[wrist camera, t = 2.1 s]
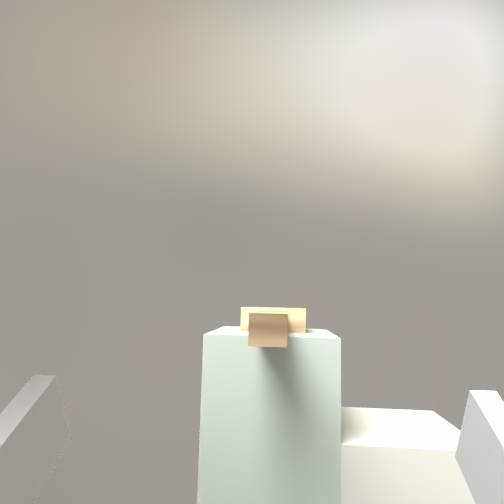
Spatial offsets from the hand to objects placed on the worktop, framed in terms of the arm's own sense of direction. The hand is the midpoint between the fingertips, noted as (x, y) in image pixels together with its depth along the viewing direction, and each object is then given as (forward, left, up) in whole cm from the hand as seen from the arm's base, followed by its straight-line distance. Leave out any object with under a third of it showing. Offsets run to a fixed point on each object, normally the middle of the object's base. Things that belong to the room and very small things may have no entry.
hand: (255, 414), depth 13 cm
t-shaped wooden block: (-14, +16, +1) cm, 21 cm away
